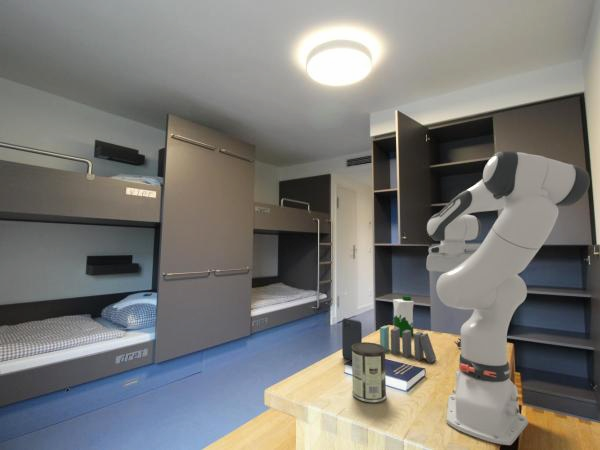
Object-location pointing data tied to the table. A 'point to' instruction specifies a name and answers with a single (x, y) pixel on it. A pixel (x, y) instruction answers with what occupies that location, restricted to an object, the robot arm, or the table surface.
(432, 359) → the domino
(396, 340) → the domino
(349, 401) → the table surface
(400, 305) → the milk carton
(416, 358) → the domino
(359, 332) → the phone case
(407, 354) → the domino
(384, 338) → the domino
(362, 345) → the coffee can
